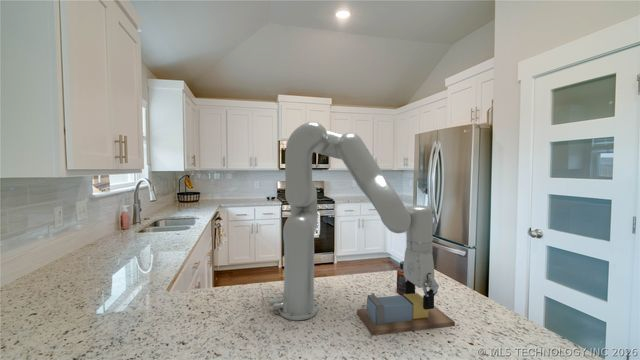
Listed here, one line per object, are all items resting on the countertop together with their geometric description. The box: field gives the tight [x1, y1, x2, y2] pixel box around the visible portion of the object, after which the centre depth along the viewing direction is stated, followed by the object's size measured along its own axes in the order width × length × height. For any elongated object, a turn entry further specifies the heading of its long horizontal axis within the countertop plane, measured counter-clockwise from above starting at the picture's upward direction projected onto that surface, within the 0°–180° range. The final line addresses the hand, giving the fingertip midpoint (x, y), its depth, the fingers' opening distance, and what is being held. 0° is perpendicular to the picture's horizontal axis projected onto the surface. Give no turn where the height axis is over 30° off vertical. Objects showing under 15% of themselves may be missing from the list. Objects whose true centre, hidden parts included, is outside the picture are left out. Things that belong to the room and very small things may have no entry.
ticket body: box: [366, 294, 413, 326], centre depth 81 cm, size 12×8×6 cm, turn 102°
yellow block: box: [403, 292, 428, 319], centre depth 83 cm, size 5×6×5 cm
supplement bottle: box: [396, 260, 406, 295], centre depth 101 cm, size 6×6×11 cm
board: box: [356, 305, 456, 336], centre depth 83 cm, size 26×12×1 cm, turn 102°
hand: (419, 301), depth 83 cm, fingers open, 9 cm apart
